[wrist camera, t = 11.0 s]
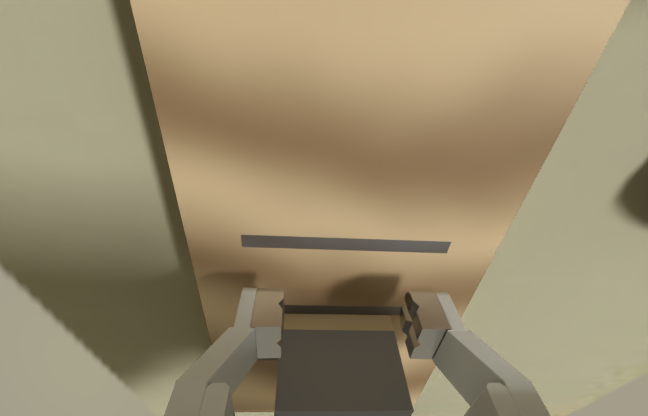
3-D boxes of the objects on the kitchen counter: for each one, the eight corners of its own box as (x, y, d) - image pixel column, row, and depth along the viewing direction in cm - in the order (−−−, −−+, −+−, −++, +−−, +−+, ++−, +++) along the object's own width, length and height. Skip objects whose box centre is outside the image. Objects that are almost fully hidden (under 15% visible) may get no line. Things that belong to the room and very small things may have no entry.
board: (114, -187, 6) (77, -220, 5) (649, -119, 7) (704, -136, 6) (231, 392, 21) (227, 412, 20) (406, 391, 22) (411, 411, 21)
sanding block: (282, 313, 14) (274, 411, 11) (390, 315, 14) (413, 410, 11) (282, 395, 19) (276, 481, 15) (364, 395, 19) (375, 479, 16)
